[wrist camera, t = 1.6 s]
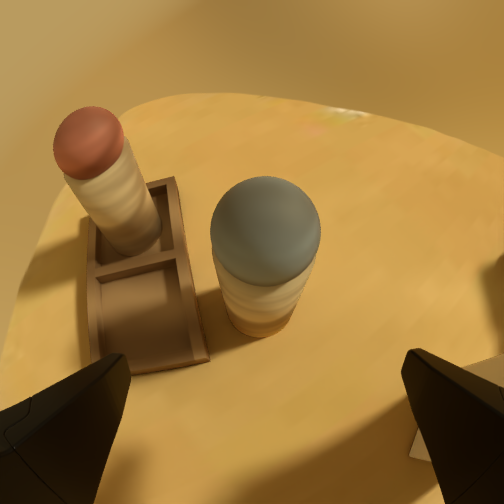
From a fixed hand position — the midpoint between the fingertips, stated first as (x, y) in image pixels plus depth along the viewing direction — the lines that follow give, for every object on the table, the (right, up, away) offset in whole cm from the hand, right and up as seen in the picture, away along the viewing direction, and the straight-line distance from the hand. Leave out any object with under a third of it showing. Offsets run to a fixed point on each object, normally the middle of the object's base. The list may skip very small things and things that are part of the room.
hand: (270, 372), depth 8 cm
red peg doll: (-11, +5, +16) cm, 20 cm away
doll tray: (-10, +2, +15) cm, 18 cm away
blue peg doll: (0, -1, +14) cm, 14 cm away
